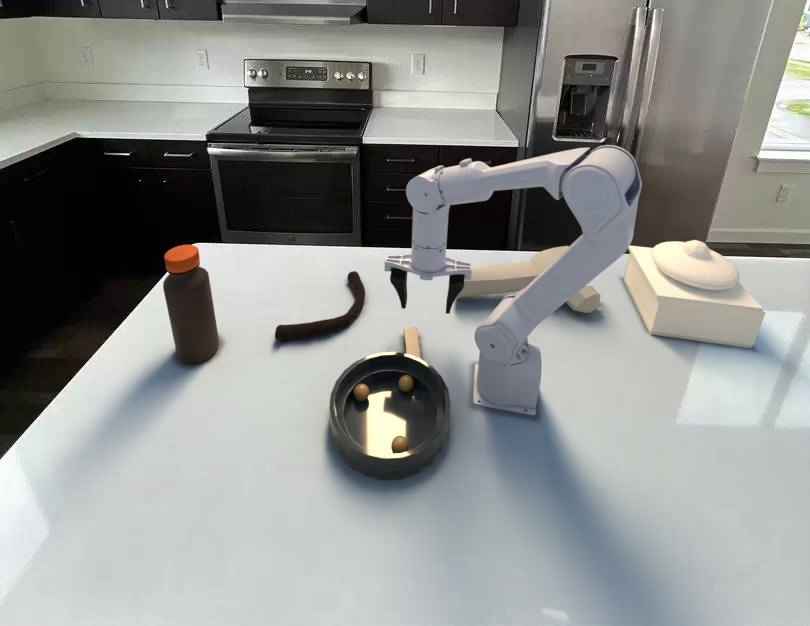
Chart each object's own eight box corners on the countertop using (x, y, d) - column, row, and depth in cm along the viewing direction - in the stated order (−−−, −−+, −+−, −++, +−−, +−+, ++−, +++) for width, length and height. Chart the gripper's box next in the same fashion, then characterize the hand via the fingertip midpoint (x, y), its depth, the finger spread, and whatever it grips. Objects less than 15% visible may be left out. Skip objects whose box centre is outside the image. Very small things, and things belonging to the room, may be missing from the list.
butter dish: (751, 348, 79) (780, 276, 73) (647, 333, 82) (667, 263, 76) (706, 289, 95) (726, 226, 89) (620, 278, 98) (635, 217, 92)
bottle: (199, 370, 71) (181, 268, 64) (168, 358, 73) (146, 259, 66) (228, 341, 77) (213, 246, 70) (198, 331, 79) (181, 238, 72)
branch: (309, 366, 72) (308, 351, 71) (270, 341, 77) (269, 327, 76) (388, 293, 91) (389, 280, 90) (353, 277, 96) (353, 265, 95)
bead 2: (417, 388, 66) (415, 383, 69) (408, 374, 67) (407, 370, 69) (404, 397, 66) (403, 392, 68) (396, 383, 66) (395, 379, 69)
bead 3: (403, 433, 60) (411, 451, 59) (388, 442, 59) (396, 461, 58) (403, 430, 58) (412, 449, 57) (388, 440, 57) (396, 459, 56)
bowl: (453, 382, 70) (455, 361, 68) (441, 496, 54) (443, 471, 52) (351, 364, 73) (351, 344, 71) (312, 466, 57) (310, 443, 55)
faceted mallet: (580, 278, 97) (588, 236, 94) (605, 321, 84) (616, 273, 81) (449, 273, 98) (452, 231, 94) (453, 315, 85) (457, 268, 81)
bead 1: (361, 380, 66) (351, 383, 67) (359, 397, 64) (349, 400, 65) (373, 384, 67) (363, 387, 68) (371, 401, 65) (361, 404, 66)
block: (403, 338, 79) (403, 328, 78) (416, 337, 79) (416, 327, 78) (406, 373, 71) (407, 362, 71) (421, 373, 72) (421, 362, 71)
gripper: (381, 248, 67) (380, 318, 72) (474, 257, 65) (467, 328, 70) (388, 226, 73) (388, 291, 78) (473, 234, 72) (467, 300, 76)
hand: (425, 307), depth 74 cm, fingers open, 7 cm apart
